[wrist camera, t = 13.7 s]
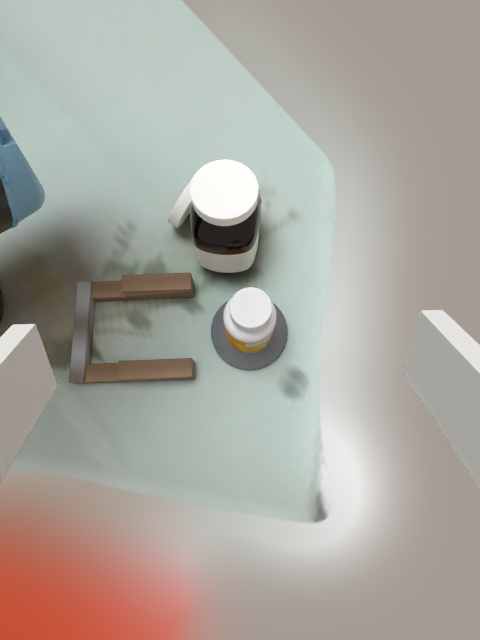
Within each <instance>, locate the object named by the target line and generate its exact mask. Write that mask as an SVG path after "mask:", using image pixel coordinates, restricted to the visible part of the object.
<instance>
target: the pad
mask: <svg viewBox="0 0 480 640" xmlns="http://www.w3.org/2000/svg"><path fill="white" fill-rule="evenodd" d="M227 302H228V301H227ZM227 302H226V303H225V304H223V305H222V306H221V307H220V309H219V310H218V311H217V313H216V315H215V317H214V319H213V322H212V327H211V336H212V341H213V344H214V347H215V349H216V351H217V353H218V354H219V355H220V357H221V358H222V359H223V360H224V361H226V362H227V363H228V364H230V365H232V366H234V367H236V368H239V369H245V370H254V369H259V368H262V367H265V366H267V365H269V364H270V363H272V362H273V361H274V360H275V359H276V358H277V357H278V356H279V355H280V353H281V352H282V350H283V348H284V346H285V344H286V340H287V324H286V321H285V318H284V316H283V314H282V312H281V311H280V310H279V308H278V307H277V306H276V305H275V304H274V303H273V304H274V307H275V309H276V324H275V327H274V330H273V333H272V335H271V338H270V340H269V342H268V343H267V345H266V346H265V347H264V348H263V349H261V350H260V351H258V352H254V353H243V352H240V351H237V350H236V349H234V348H233V347H232V346H231V345H230V343H229V342H228V340H227V337H226V332H225V326H224V321H223V313H224V309H225V306H226V304H227Z"/></svg>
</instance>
